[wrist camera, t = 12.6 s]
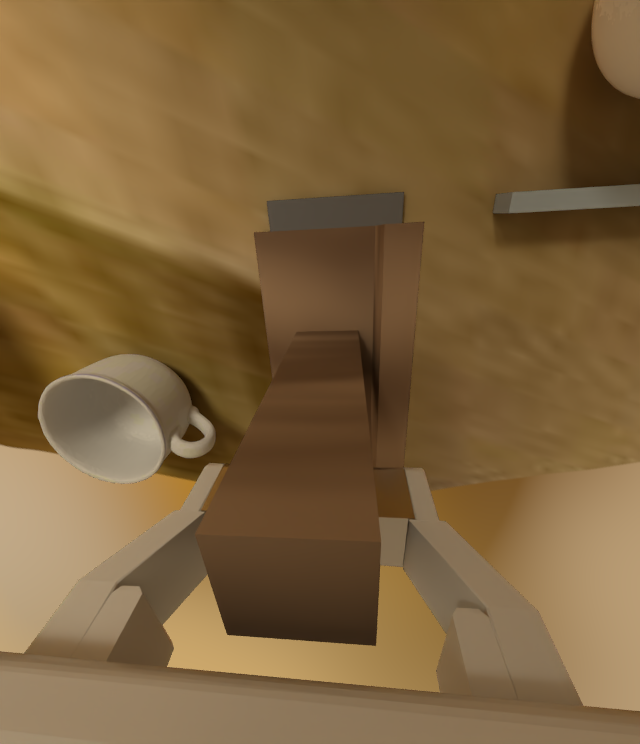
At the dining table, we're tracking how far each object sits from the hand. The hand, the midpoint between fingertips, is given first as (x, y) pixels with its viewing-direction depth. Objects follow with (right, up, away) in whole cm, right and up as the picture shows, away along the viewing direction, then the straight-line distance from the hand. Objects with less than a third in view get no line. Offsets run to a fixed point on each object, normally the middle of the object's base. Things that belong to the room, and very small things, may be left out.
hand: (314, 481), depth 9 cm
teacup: (-16, +1, +24) cm, 28 cm away
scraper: (+1, +4, +8) cm, 9 cm away
